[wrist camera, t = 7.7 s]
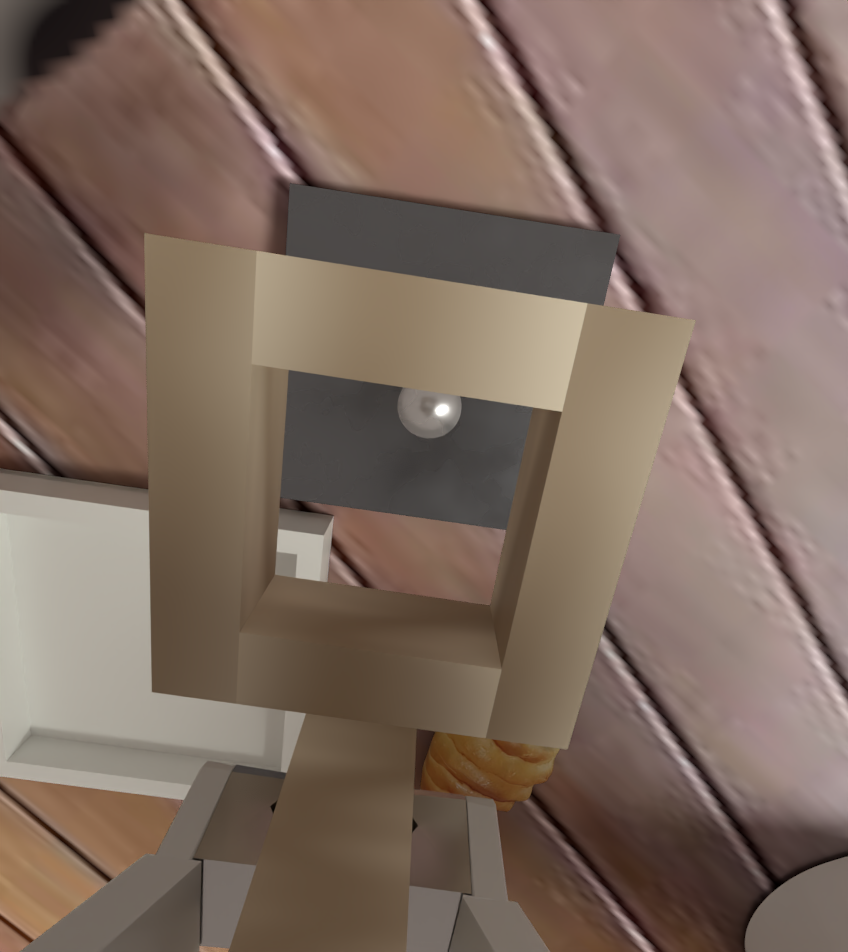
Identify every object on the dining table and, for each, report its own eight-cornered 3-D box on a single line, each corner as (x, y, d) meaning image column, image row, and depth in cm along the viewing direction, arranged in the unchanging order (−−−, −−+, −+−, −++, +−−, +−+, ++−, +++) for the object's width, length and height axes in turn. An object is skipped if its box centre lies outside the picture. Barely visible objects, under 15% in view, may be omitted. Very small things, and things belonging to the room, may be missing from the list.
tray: (333, 515, 27) (323, 535, 24) (308, 777, 32) (298, 814, 30) (-13, 466, 26) (-57, 481, 24) (21, 740, 32) (-13, 774, 30)
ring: (640, 318, 9) (1009, 330, 3) (521, 763, 12) (599, 1178, 6) (208, 250, 9) (-230, 131, 3) (199, 719, 12) (-25, 1104, 6)
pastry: (484, 812, 33) (489, 874, 30) (393, 769, 32) (387, 826, 29) (568, 712, 31) (585, 766, 27) (472, 662, 30) (476, 710, 26)
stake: (612, 238, 23) (720, 192, 14) (544, 527, 27) (595, 629, 18) (296, 188, 22) (208, 111, 14) (278, 489, 27) (202, 574, 18)
